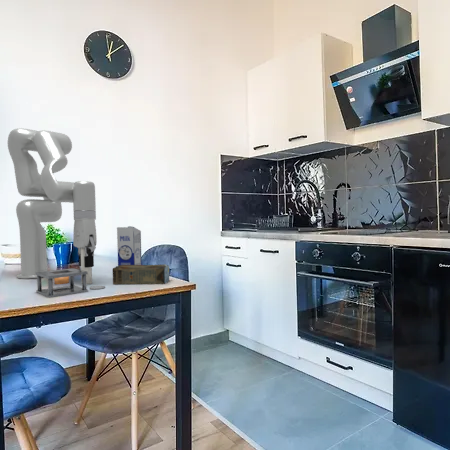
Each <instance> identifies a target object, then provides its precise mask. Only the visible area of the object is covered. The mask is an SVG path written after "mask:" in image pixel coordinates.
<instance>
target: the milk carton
mask: <svg viewBox="0 0 450 450" xmlns="http://www.w3.org/2000/svg"><path fill="white" fill-rule="evenodd" d="M116 235H117V236H116V239H117V242H116V243H117V244H116V245H117V246H116V247H117V266H119V265H143V262H142V231H141V230H140V229H138V228H136V227H135V226H130V225H129V226H123V227H120V226H118V227H116Z"/></svg>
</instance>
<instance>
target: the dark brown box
mask: <svg viewBox="0 0 450 450" xmlns="http://www.w3.org/2000/svg"><path fill="white" fill-rule="evenodd" d="M169 281H170V265H168V264H166V263H165V264H142V265H119V266H118V265H116V266H114V267H113V268H112V285H166V284H167V283H168V282H169Z"/></svg>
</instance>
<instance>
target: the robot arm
mask: <svg viewBox="0 0 450 450" xmlns="http://www.w3.org/2000/svg"><path fill="white" fill-rule="evenodd" d="M7 149H8V153H9V155H10V158H11V160H12V163H13V168H14V176H15V183H16V189H17V192H18V194H19V195H20V196H23V197H29V199H24V200H21V201H19V202H18V203H17V205H16V208H15V213H16V217H17V221H18V228H19V247H20V248H19V249H20V273H18V274H17V275H16V277H17V278H18V279H37V275H36V272H44V271H48V264H47V263H48V261H47V259H48V258H47V256H48V255H47V233H46V230H45V228H44V226H43V225H42V223H55V222H58V221H59V220H61V218H62V215H63V208H62V207H63V206H62V203H72V204H73V206H72V207H73V222H74V223H73V234H72V235H73V241H72V242H73V243H72V244H73V246H74V247H75V248H77V250H78V251H77V255H78V267H81V248H84V249H85V256H84V266H85V267H86V268H87V267H92V268H93V267H95V262H94V261H95V260H94V258H95V257H94V256H95V250H96V248H97V247H96V246H97V229H96V227H97V226H96V220H97V210H96V209H97V208H96V206H97V205H96V185H95V183H94V182H93V181H90V180H89V181H88V180H87V181H86V180H80V181H79V180H78V181H74V182H73V181H63V180H62V181H59V180H57V179H56V177H55V175H54V174H55V173H58V172H60V171H62V170H63V169H65V168H66V167H67V166H68V161H69V160H68V158H67V156H66V155H68V154H70V152H71V151H72V149H73V143H72V140H71V138H70V137H69V136H68V135H67V134H65V133H62V132H56V131H51V130H34V129H29V128H22V127H21V128H20V127H19V128H14V129H13V130H11V131H10V132H9V134H8V137H7ZM29 151H31V152H37V153H38V156H39V158H40V159H41V162H42V163H43V168H42V170H41V173H39V169H38V163H37V161H36V160H35V158H34V157H33V156H32V155H31V153H30V152H29ZM33 198H34V199H33ZM35 198H36V199H35ZM37 198H43V199H37ZM87 245H90V247H87ZM87 249H88V250H87Z"/></svg>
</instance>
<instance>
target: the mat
mask: <svg viewBox="0 0 450 450" xmlns="http://www.w3.org/2000/svg"><path fill="white" fill-rule="evenodd" d="M103 289H106V286H105V285H92V286H90V287H89V290H93V291H95V290H97V291H98V290H103Z"/></svg>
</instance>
